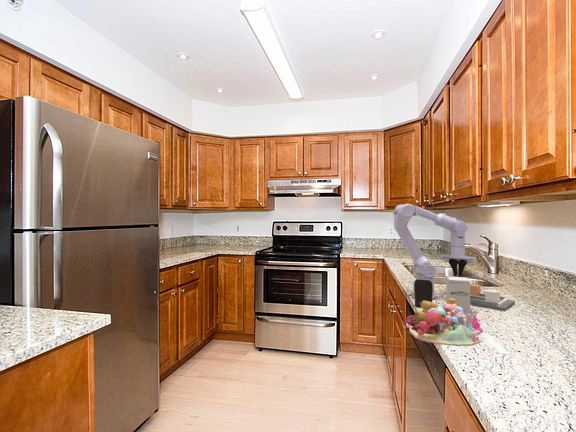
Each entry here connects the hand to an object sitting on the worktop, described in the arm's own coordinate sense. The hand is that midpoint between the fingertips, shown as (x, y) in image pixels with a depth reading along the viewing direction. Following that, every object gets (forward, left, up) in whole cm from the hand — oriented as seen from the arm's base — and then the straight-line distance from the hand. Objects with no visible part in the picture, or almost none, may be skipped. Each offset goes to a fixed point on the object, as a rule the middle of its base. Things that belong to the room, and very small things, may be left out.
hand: (457, 276), depth 142 cm
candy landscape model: (-48, -13, -10) cm, 50 cm away
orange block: (0, -7, -8) cm, 10 cm away
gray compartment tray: (-3, -11, -9) cm, 15 cm away
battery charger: (-27, +4, -10) cm, 29 cm away
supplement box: (-22, -8, -10) cm, 25 cm away
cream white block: (-7, -15, -8) cm, 19 cm away
